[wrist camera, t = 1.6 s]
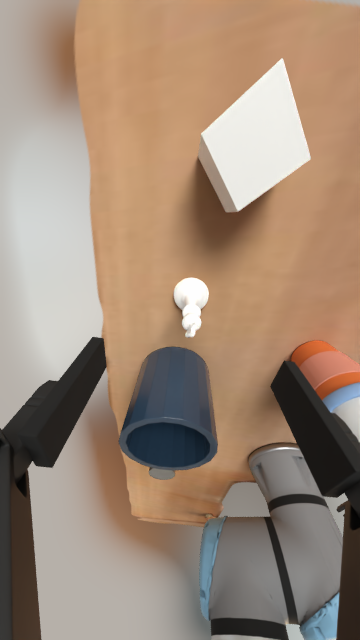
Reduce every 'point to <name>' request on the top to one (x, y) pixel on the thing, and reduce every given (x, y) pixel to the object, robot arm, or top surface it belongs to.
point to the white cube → (254, 142)
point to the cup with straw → (332, 380)
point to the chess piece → (191, 302)
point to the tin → (171, 412)
